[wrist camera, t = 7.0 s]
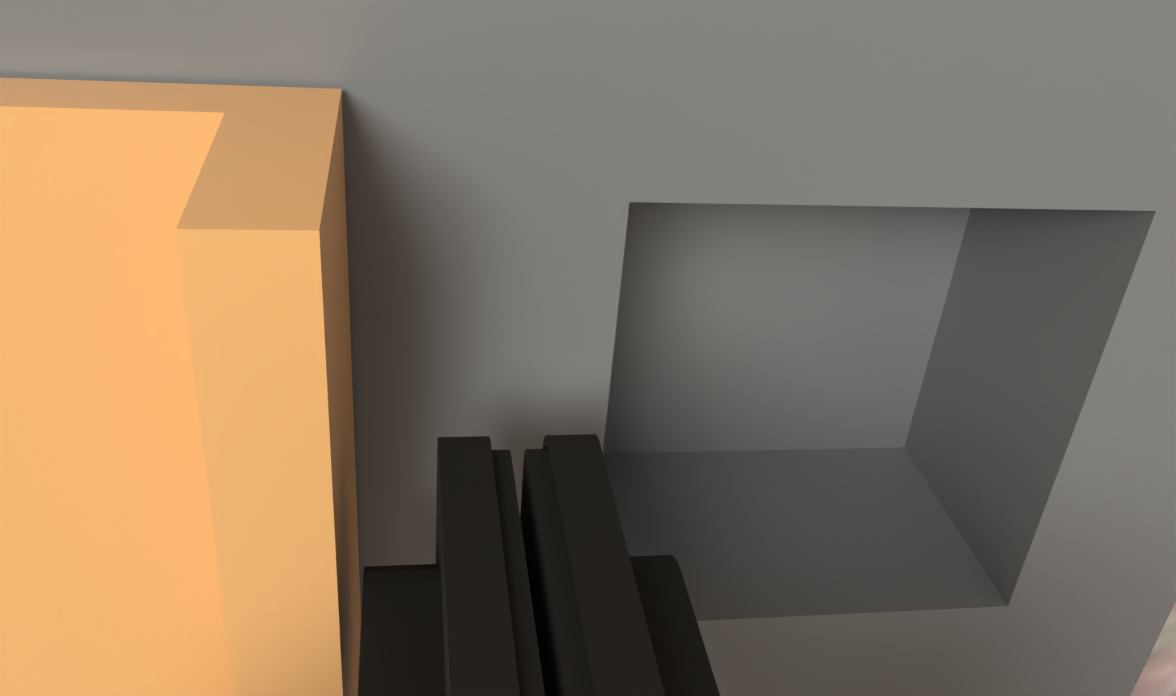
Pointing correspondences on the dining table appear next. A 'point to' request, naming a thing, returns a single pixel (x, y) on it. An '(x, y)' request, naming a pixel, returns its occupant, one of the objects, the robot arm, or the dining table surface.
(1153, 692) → the dining table surface
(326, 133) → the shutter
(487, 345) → the socket
